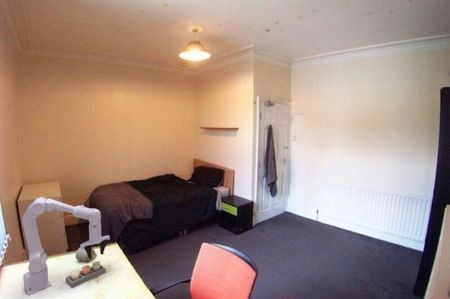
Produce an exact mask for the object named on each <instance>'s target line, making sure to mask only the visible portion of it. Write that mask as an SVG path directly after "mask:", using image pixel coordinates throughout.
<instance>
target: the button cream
mask: <svg viewBox="0 0 450 299" xmlns="http://www.w3.org/2000/svg"><path fill="white" fill-rule="evenodd" d="M79 272H80V270H79V269H74V270H72V271H70V275H71V280H72V281H74V280H76V279H79V278H80V274H79Z"/></svg>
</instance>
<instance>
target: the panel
mask: <svg viewBox="0 0 450 299" xmlns="http://www.w3.org/2000/svg"><path fill="white" fill-rule="evenodd" d="M79 274H80V278H79V279H76V280H74V281H72V280H71V274H70V275H68V276H66V277H65V283H66V284H67V285H68V286H69V287H70V288H71V289H73V288H75V287H78V286H80V285H82V284H84V283H87V282H90V281H91V280H93V279H95V278H98V277H100V276H103V275H105V274H107V269H106V267H104V266H103V265H102V264H100V270H97V271H95V272H93V265H92V266H90V274H88V275H86V276H83V275H82V270H79Z"/></svg>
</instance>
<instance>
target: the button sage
mask: <svg viewBox="0 0 450 299" xmlns="http://www.w3.org/2000/svg"><path fill="white" fill-rule="evenodd" d="M100 265H101V261H98V260H97V261H93V262H92V266H93V272H95V271H97V270H100Z"/></svg>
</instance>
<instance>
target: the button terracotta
mask: <svg viewBox="0 0 450 299" xmlns="http://www.w3.org/2000/svg"><path fill="white" fill-rule="evenodd" d="M90 267H91V266H90V265H87V264H85V265H84V266H82V268H81V271H82V275H83V276H86V275H88V274H90Z"/></svg>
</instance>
